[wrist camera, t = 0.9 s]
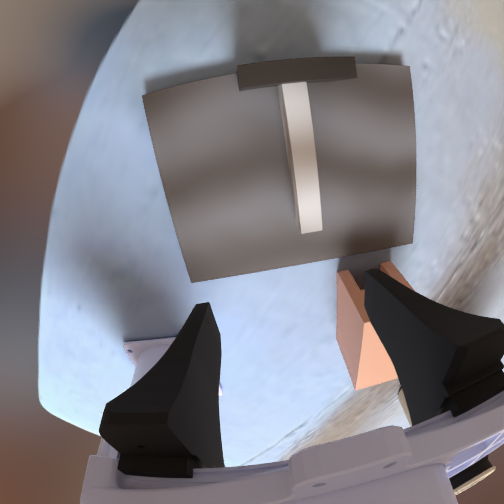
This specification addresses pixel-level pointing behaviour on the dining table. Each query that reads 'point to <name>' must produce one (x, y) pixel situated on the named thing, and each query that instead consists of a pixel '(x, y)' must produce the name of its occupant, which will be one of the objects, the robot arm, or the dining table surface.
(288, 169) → the rail board
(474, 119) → the dining table surface
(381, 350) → the slotted block
